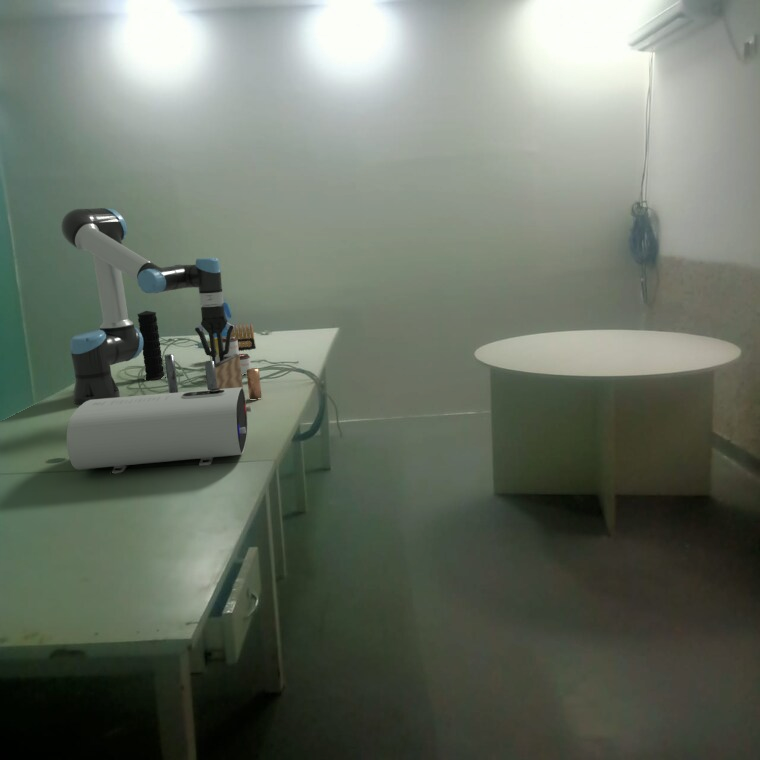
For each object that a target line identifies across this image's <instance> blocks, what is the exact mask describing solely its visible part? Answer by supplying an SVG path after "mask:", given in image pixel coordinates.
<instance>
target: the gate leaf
mask: <svg viewBox="0 0 760 760" xmlns="http://www.w3.org/2000/svg"><path fill="white" fill-rule="evenodd" d="M215 372H216V381H217V388H219V389H226V388H239V387H242V388H243V389H244V385H243V377H242V374H241V364H240V355H238V354H234V355H232V356H230V357H228V358H226V359H224V360H222V361H220V362H218V363H216V364H215Z"/></svg>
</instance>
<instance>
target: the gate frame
mask: <svg viewBox="0 0 760 760" xmlns="http://www.w3.org/2000/svg"><path fill="white" fill-rule="evenodd" d="M175 363H176V362H175V355H174V354H172V353H168V354H165V355H164V364H165V370H166V371H165V373H166V374H167V378H166V379H167V386H168V393H178V392H179V387H178V380H177V372H176V371H177V370H176V364H175ZM204 369H205V370H204V371H205V378H206V379H205V380H206V386H207V390H210V389H214V388H217V381H216V372H215V364H214V361H212V360H206V361H204ZM260 376H261V375H260V368H257V367H253V368H252V367H251V369H247V375H246V377H247V378H246V379H247V387H248V396H249V398H250V399H258V398H261V397H263V396H262V388H261V387H262V386H261V379H260V378H261V377H260ZM249 398H248V399H249ZM250 399H249V400H250Z"/></svg>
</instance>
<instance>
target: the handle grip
mask: <svg viewBox="0 0 760 760" xmlns="http://www.w3.org/2000/svg"><path fill="white" fill-rule="evenodd" d="M136 315H137V317H138V318H137V320H138V326H139V329H138V330H139V333H141V334H142V337H143V349H142V356H143V364H144V367H145V368H144V372H145V376H146V380H147V381H146V382H154V381H161V380H162V379H161V378H162V377H163V376H164V374H165V372H164V366H163V365H164V364H163V356H162V350H161V349H162V348H161V342H160V333H159V326H158V318H157V312H155V311H150V310H145V311H142V312H140V313H137V314H136ZM160 379H161V380H160Z"/></svg>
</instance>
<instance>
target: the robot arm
mask: <svg viewBox="0 0 760 760" xmlns="http://www.w3.org/2000/svg"><path fill="white" fill-rule="evenodd" d="M60 228H61V232H62V235H63V236H64V239H66V241H67V242H68V243H69V244H70V245H72V246H74V247H75V248H76V249H78V250H79V251H84V252H85V251H86V252H89V253H90V254H92V258H93V259H92V260H93V264H94V270H95V277H96V283H97V289H98V296H99V297H98V298H99V303H100V309H101V310H100V311H101V315H102V323H101V324H100V326H99V329H95V330H94V329H93V330H92V329H91V330H89V331H84V332H83V331H82V332H80V333H77V334H75V335H74V336H72V337H71V338H70V340H69V346H70V349H69V350H70V353H71V354H70V355H71V360H72V366H73V371H74V372H73V373H74V376H75V377H74V378H75V383H74V388H73V393H72V400H73V403H74V402H75V403H77V404H76V405H82V404H83V403H85V402H86V401H89V400H93V399H105V398H117V397H121V394H120V389H119V387H118V386H117V383H116V381H115V380H114V378H113V375H112V371H111V369H112V368H111V366H113V365H115V364H119V363H123V362H129V361H130V360H132V359H136V358H137V357H138V356H140V354H142V352H143V350H142V349H143V337H142V334H141V332H140V329H138V328H136V327H135V324H134V322H133V321H132V320H130V319H129V315H128V307H127V299H126V294H125V287H124V282H123V281H124V279H123V274H125V275H127V276H128V277H130V278H131V279H133V280H135V281H136V282H137V284H138V287H139V288H140V289H141V291H142V292H143V293H145V294H159V293H164V292H169V291H174V290H180V289H189V288H198V294H199V304H200V305H201V307H200V310H201V311H200V312H201V322H200V325H198V326H197V327H195V329H194V331H195V332H196V333H197V334H198V336H199V339H200V343H201V345H202V347H203V350H204V353H205V355H206V356H208V357H211V361H214V364H216V363H218V362H220V361H222V360H224V355H225V354H228V352H229V349H230V342H231V335H232V331H233V329H234V330H235V325H234V324H231V323H229V322H228V320H227V318H226V309H225V305H223V304H224V291H223V288H222V287H223V286H222V270H221V267H220V260H219V258H217V257H200V258H196V259H195V264H174V265H170V266H165V267H160V266H159V265H157V264H155V263H153V262H152V261H150V260H148V259H147V258H145V257H143V256H142V255H139V254H138V253H136V252H135V251H134V250H132V249H130V248H128V247H127V246H126V245H123V243H122V241H123V240H125V238H126V235H127V232H128V228H127V224H126V221H125V218H124V217H123V216H122V215H121V214H120V213H119V212H118V211H117V210H116V209H113V208H105V207H100V208H76V209H75V208H74V209H73V210H70V211H68V212H67V213H66V214H65V215H64V216H63V218H62V221H61V225H60ZM225 328H226V335H225V337H226V343H225V350H224V349H223V340H222V337H223V332H224V330H225ZM204 330H205V331H206V332H207V333H208V337H209V340H210V347H211V348H210V347H209V342H208V340H207V337H206V335H205V331H204ZM215 336H216V337H215ZM215 338H217V341H218V350H219V356H216V355H217V353H216V345H215ZM75 403H74V404H75Z"/></svg>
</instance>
